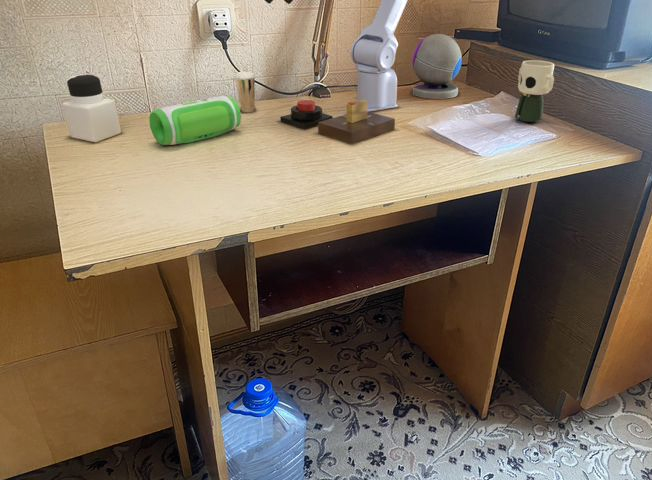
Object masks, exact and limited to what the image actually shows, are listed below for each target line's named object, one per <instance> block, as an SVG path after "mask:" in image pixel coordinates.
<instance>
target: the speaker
mask: <svg viewBox="0 0 652 480" xmlns="http://www.w3.org/2000/svg"><path fill="white" fill-rule="evenodd" d="M241 122H242V111H241V108H240V105H239V103H238V102H237V100H235V98H233V97H231V96H226V95H219V96H213V97H208V98H204V99H197V100H192V101H187V102H183V103H182V102H181V103H178V104H171V105H168V106H167V105H166V106H162V107H159V108H157V109H155V110H153V111H152V112H150V114H149V127H150V130H151V133H152V135H153V137H154V139H155V141H156V142H157V143H158V144H159V145H162V146H175V145H178V144H179V145H180V144H189V143H193V142H194V143H195V142H199V141H202V140H206V139H211V138H214V137H218V136H220V135H222V134H225V133H228V132H231V131H233V130H234V129H236V128H238V127H239V126H240V125H241Z"/></svg>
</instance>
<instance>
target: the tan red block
mask: <svg viewBox="0 0 652 480" xmlns="http://www.w3.org/2000/svg"><path fill="white" fill-rule="evenodd" d="M367 108H368V101H365V100H360V101H357V100H356V101H350V102H347V103H346V114H347V122H349V123H355V122H358V121H361V120H364V119H367Z"/></svg>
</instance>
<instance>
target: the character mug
mask: <svg viewBox="0 0 652 480" xmlns="http://www.w3.org/2000/svg"><path fill="white" fill-rule="evenodd" d="M520 66H521V67H519V70H518V71H519V72H518V77H517V80H518V83H517V88H518V91H519V92H520V93H522V94H521V96H519V101H518V103H517V107H516V111H515V115H514V118H515V119H517V120H518V117H519V121H521V122H528V123H529V122H530V123H533V122H537V121H541V120H543V115H544V100H545V99H544V96H543V95H546V94H548V93H550V92H551V91H552V90H553V87H554V82H555V77H554V71H555V63H553V62H551V61H546V60H538V59H537V60H536V59H527V60H523V61H522V63H521V65H520Z"/></svg>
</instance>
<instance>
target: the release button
mask: <svg viewBox="0 0 652 480" xmlns="http://www.w3.org/2000/svg"><path fill="white" fill-rule="evenodd" d="M315 105H316V101H314V100H311V99H301V100H298V101H297V103H296V106H298V110H299V111H314V110H315Z"/></svg>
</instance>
